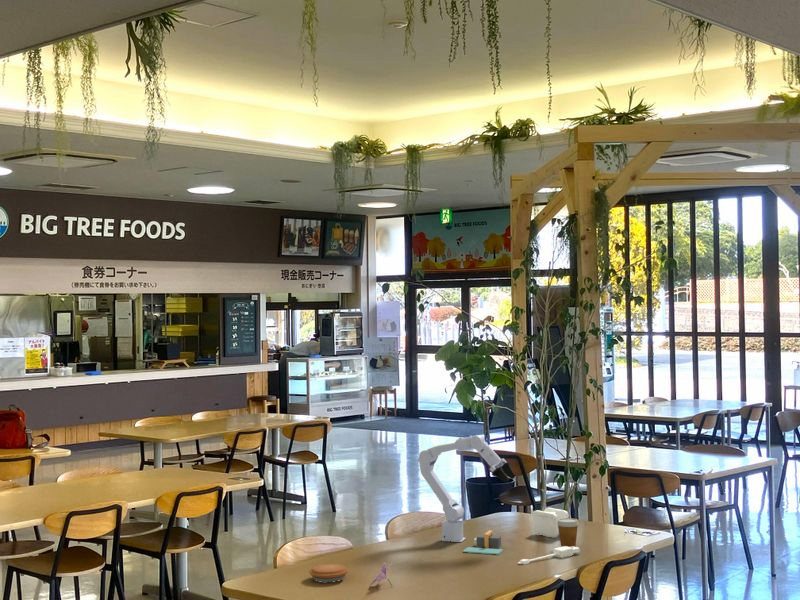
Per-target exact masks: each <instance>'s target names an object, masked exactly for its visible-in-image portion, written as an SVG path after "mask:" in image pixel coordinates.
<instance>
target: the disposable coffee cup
mask: <svg viewBox="0 0 800 600" xmlns="http://www.w3.org/2000/svg"><path fill="white" fill-rule="evenodd" d="M557 524H558V529H559V535H558V537H559V541H560V547H563V546H568V547H571V546H574V547H577V535H578V527H579V524H580V523H579V521H578V519H577V518H562V519H558V522H557Z"/></svg>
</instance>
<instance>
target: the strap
mask: <svg viewBox="0 0 800 600" xmlns="http://www.w3.org/2000/svg"><path fill="white" fill-rule="evenodd" d="M493 533H494V530H488V531H487V532H485V533H484V534H483V535H484V541H485V548H489V536H494V534H493Z"/></svg>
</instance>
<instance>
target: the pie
mask: <svg viewBox="0 0 800 600" xmlns="http://www.w3.org/2000/svg"><path fill="white" fill-rule="evenodd" d="M348 572H349V568H347V567H346V566H344V565H342V564H337V563H325V564H319V565H315V566H314V567H312V568H310V569H309V570H308V573H309V575H311V577H312V578H313V580H314V581H315V580H317V581H322V582H333V581H338V580H341V579H343V578H345V577H346V574H347V573H348ZM343 580H344V579H343Z"/></svg>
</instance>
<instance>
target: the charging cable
mask: <svg viewBox="0 0 800 600" xmlns="http://www.w3.org/2000/svg"><path fill="white" fill-rule="evenodd" d="M580 552H581V549H580V547H578V546H576V547H574V546H571V547H568V546H563V547H561V546H559V547H556V548H553V553H551V554H548V555H544V556H539V557H535V558H531V559H528V558H527V559H526V558H522V559H519V561H518V562H517V564H519V565H528V564H529V563H531V562H533V561H537V560H541V559H545V558H546V559H547V558H549V557H550V558H551V557H552V556H553V557H556V556H557V558H560V557H561V558H560V559H564V558H568V557H567V556H569V557H572V555H573V556H574V554H576V553H580ZM563 557H564V558H563Z"/></svg>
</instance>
